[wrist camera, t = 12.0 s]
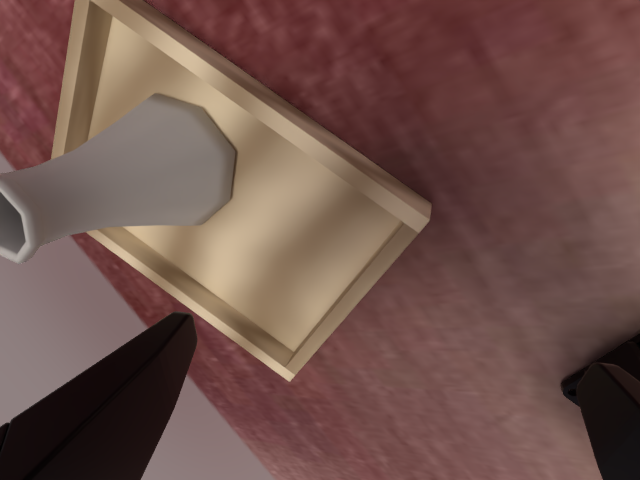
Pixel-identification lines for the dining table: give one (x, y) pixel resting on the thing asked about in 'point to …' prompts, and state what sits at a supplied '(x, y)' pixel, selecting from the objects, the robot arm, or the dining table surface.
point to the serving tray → (240, 189)
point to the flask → (121, 179)
